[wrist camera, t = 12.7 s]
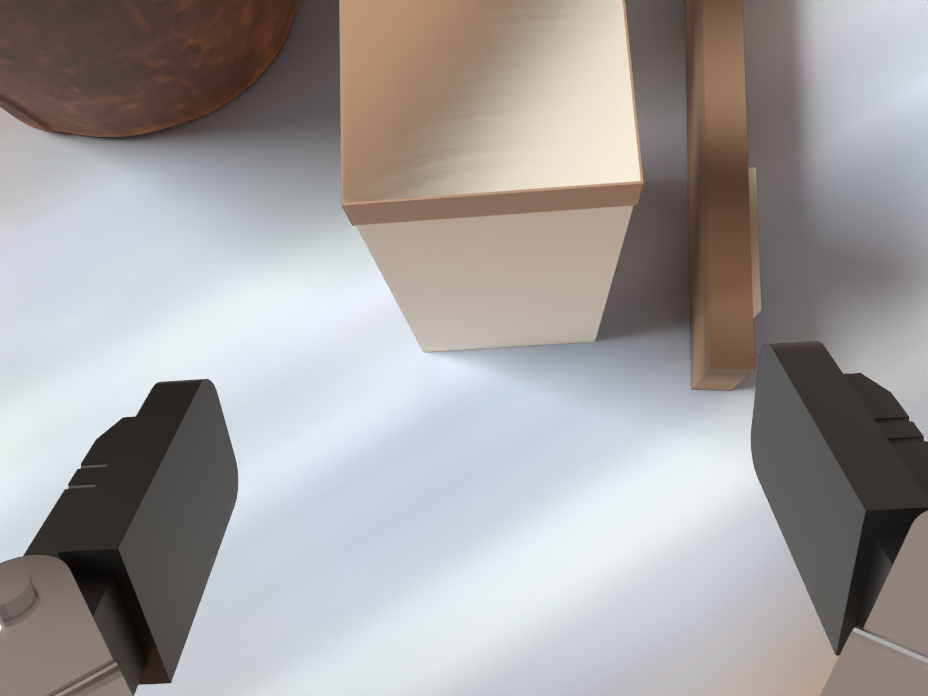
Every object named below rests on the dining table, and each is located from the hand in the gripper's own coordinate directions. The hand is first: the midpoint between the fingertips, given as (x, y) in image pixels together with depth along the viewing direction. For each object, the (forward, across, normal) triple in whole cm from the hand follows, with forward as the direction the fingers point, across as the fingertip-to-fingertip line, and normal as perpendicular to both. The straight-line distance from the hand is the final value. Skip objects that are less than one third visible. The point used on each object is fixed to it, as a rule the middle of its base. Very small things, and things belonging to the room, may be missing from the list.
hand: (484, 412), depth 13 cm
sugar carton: (+15, 0, +5) cm, 16 cm away
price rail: (+20, -8, 0) cm, 22 cm away
